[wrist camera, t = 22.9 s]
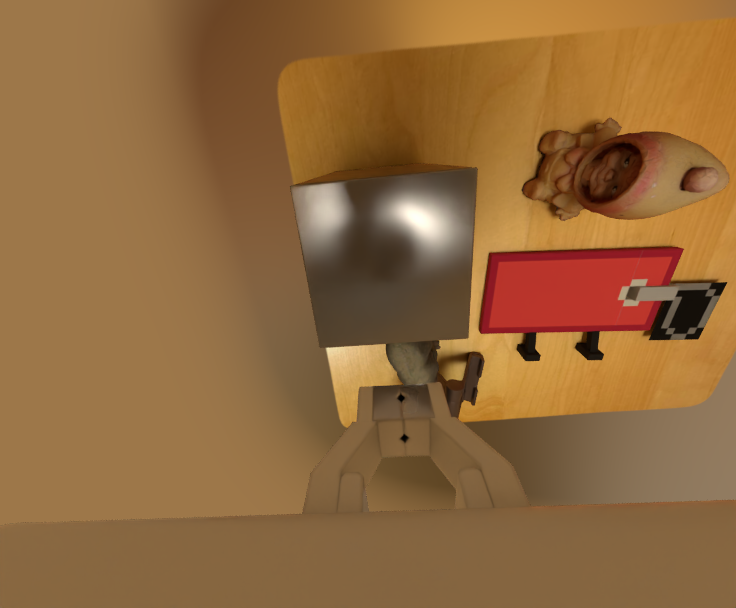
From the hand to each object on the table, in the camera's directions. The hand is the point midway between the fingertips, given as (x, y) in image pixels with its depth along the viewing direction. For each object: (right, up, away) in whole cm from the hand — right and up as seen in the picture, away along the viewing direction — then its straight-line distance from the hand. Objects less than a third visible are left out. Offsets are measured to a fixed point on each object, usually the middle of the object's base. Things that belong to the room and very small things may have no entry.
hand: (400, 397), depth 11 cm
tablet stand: (+12, -8, +35) cm, 38 cm away
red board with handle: (+29, +4, +29) cm, 41 cm away
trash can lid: (0, +6, +6) cm, 9 cm away
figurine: (+21, +18, +22) cm, 36 cm away
